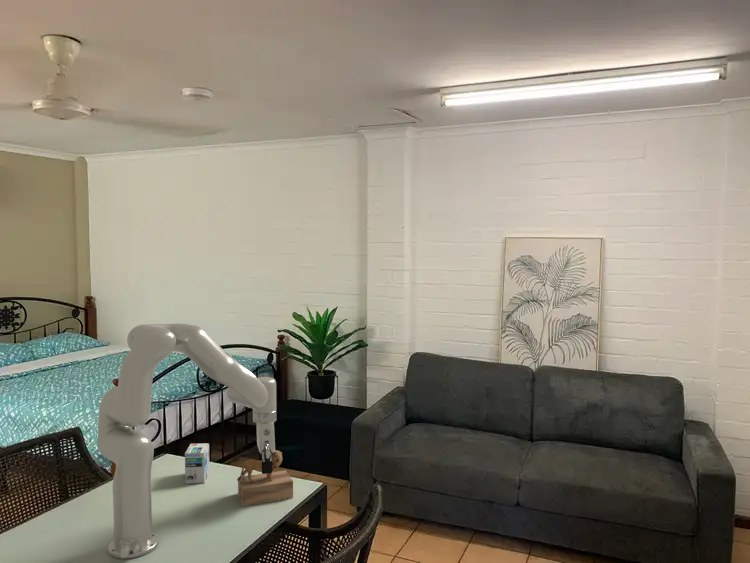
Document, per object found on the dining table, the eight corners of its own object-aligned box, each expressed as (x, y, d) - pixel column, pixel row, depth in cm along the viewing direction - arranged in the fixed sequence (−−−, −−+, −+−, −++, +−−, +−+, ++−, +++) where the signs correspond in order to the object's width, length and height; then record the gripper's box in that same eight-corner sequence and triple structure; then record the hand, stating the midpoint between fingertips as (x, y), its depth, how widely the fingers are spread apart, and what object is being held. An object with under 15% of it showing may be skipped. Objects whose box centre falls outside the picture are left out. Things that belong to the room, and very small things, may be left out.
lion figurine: (281, 474, 196) (281, 447, 195) (283, 480, 191) (283, 453, 190) (236, 479, 192) (236, 452, 191) (237, 485, 187) (237, 457, 186)
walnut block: (293, 499, 190) (293, 481, 190) (243, 507, 184) (243, 488, 184) (285, 487, 200) (285, 470, 199) (238, 495, 194) (237, 477, 193)
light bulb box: (204, 483, 202) (204, 452, 201) (184, 484, 201) (184, 453, 201) (209, 471, 213) (209, 442, 212) (190, 472, 212) (190, 443, 211)
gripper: (280, 422, 183) (280, 476, 184) (272, 408, 200) (273, 457, 201) (255, 424, 181) (256, 479, 182) (250, 409, 198) (250, 459, 199)
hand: (265, 467), depth 192 cm, fingers open, 9 cm apart
